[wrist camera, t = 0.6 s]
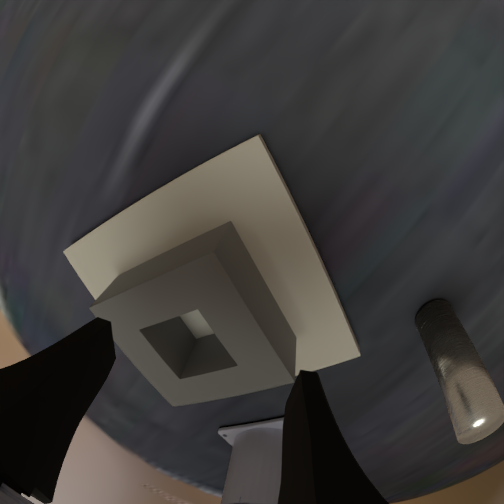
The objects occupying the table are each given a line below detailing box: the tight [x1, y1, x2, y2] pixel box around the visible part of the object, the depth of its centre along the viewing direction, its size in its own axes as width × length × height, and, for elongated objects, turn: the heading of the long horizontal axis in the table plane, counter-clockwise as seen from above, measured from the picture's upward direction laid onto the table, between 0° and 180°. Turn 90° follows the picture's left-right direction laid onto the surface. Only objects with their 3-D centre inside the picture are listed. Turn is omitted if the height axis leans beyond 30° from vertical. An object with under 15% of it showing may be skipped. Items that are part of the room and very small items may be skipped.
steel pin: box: [416, 300, 504, 444], centre depth 15 cm, size 3×3×10 cm
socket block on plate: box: [63, 134, 361, 407], centre depth 19 cm, size 16×16×5 cm
